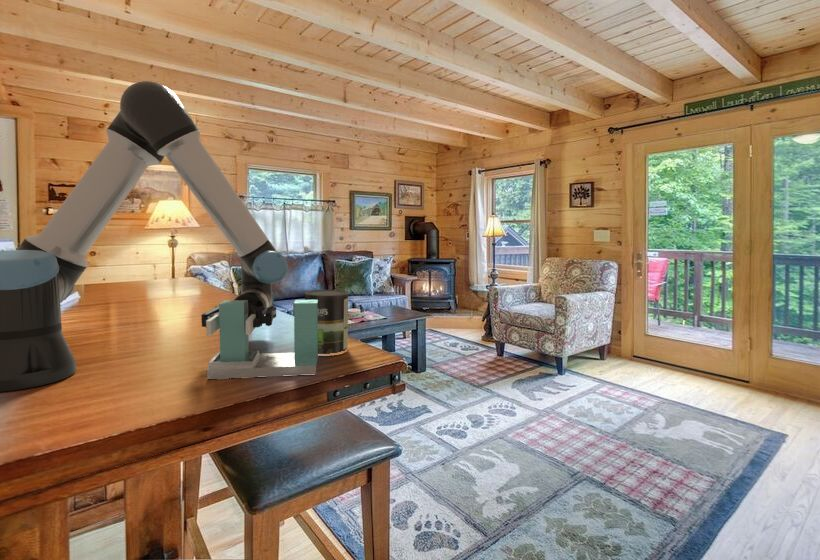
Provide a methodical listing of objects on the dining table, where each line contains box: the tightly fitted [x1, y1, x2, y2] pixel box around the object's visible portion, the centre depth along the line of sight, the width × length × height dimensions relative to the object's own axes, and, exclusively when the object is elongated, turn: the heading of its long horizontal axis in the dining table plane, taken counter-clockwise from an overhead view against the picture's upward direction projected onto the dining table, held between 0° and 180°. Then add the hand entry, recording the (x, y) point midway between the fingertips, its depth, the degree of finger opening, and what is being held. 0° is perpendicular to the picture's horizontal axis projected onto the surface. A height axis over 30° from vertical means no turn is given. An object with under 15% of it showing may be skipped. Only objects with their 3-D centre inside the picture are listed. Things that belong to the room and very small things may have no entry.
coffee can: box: [303, 289, 350, 354], centre depth 102 cm, size 10×10×14 cm
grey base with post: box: [206, 299, 319, 380], centre depth 87 cm, size 20×10×14 cm, turn 101°
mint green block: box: [218, 299, 250, 362], centre depth 86 cm, size 4×4×12 cm
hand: (228, 327), depth 81 cm, fingers open, 6 cm apart
